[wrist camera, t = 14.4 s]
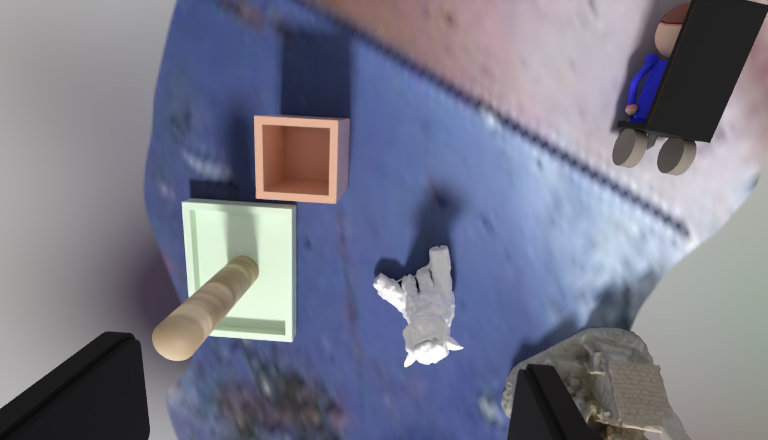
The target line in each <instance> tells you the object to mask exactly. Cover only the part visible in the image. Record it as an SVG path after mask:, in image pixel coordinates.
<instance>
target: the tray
mask: <svg viewBox="0 0 768 440" xmlns="http://www.w3.org/2000/svg"><path fill="white" fill-rule="evenodd" d="M182 212H183V226H184V239H185V253H186V267H187V280H188V294H189V297H190V296H192V295H193V294H194V293H195V292H196V291H197V290H198V289H199V288H201V287H202V286H203V285H204V284H205V283H206V282H207V281H208V280H210V279H211V278H212V277H213V276H214V275H215V274H216V273H217V272H218V271H220V270H221V269H222V268H223V267H224V266H225V265H226V264H227V263H229V262H230V261H231V260H232V259H233V258H235V257H237V256H246V257H249V258H251V259H252V260H254V261H255V263H256V264H257V266H258V269H259V275H258V278H257V279H256V281H255V282H254V283H253V284H252V285H251V287H250V288H249V289H248V290H247V291H246V292H245V294H244V295H243V296H242V297H241V298H240V299H239V301H238V302H237V303H236V304H235V305H234V307H233V308H232V309H231V310H230V311H229V312H228V314H227V315H226V316H225V317H224V318H223V319H222V321H221V322H220V323H219V324H218V325H217V326H216V328H215V329H214V330H213V331H212V332H211V334H210V335H209V336H219V337H232V338H245V339H258V340H272V341H285V342H292V341H293V339H294V337H295V335H296V333H297V255H296V205H290V204H274V203H259V202H243V201H228V200H212V199H197V198H190V199H188V200H185V201H183V202H182Z"/></svg>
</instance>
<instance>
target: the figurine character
mask: <svg viewBox="0 0 768 440" xmlns="http://www.w3.org/2000/svg"><path fill="white" fill-rule="evenodd" d="M767 12H768V5H765V4H761V3H756V2H752V1H747V0H692V1H691V2H690V3H686V4H682V5H680V6H678V7H676V8H674V9H672V10H671V11H670V12H668V13H667V14H666V15H665V16H664V17H663V18H662V20H661V21H660V22H659V24H658V26H657V29H656V32H655V44H656V47H657V49H658V51H659V52H660V53H661V54H662V55H663V56H664V57H666V58H668V59H669V60H668V61H661V60H660V58H659V57H658V56H657V55H656V54H648V55H647V56H646V57H645V63H646V64H645V65H644V66H643V67H642V68H641V69H640V71H639V72H638V73H637V74H636V75H635V76H634V78H633V79H632V80H631V82H630V89H629V96H628V102H627V107H626V109H625V111H626V113H627V114H630V115H629V116H628V117H627V120H626V121H619V123H618V126H617V127H619V128H623V130H622V133H621V134H620V135H619V137H618V138H617V140H616V142H615V145H614V148H613V155H612V157H613V162H614V163H615V164H616V165H619V166H623V167H628V168H631V167H634V166H635V165H637V164H638V163H639V162H640V160H641V159H642V157H643V155H644V153H645V151H646V148H647V150H648V149H649V148H651V147H652V146H654V144H655V142H656V139H657V137H658V136H662V137H667V138H669V139H668V140H667V141H666V142H665V143H664V144H663V146H662V148H661V150H660V152H659V155H658V160H657V165H658V169H659V170H660V171H661V172H662V173H666V174H671V175H680V174H682V173H684V172H685V171H686V170H687V169H688V168H689V167H690V166H691V164H692V162H693V160H694V158H695V155H696V143H695V141H702V142H708V143H710V141H711V139H712V137H713V135H714V132H715V130H716V128H717V126H718V123H719V121H720V119H721V117H722V114H723V112H724V110H725V107H726V105H727V103H728V101H729V98H730V96H731V94H732V92H733V89H734V87H735V85H736V83H737V80H738V78H739V76H740V73H741V71H742V69H743V67H744V64H745V62H746V60H747V58H748V55H749V53H750V51H751V49H752V46H753V44H754V42H755V39H756V37H757V35H758V33H759V30H760V28H761V26H762V24H763V21H764V19H765V17H766V14H767ZM649 70H650V72H649V75H648V77H647V80H646V82H645V85H644V87H643V90H642V93H641V95H640V98H639V100H638V103H637V105H636V104H635V102H636V96H637V90H638V83H639V82H640V81H641V79H642V78H643V77H644V76H645V75H646V74H647V73H648V71H649ZM634 117H635V118H634ZM646 133H648V134H649V136H648V138H647V134H646Z"/></svg>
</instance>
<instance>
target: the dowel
mask: <svg viewBox="0 0 768 440" xmlns="http://www.w3.org/2000/svg"><path fill="white" fill-rule="evenodd" d="M258 275H259V269H258V266H257V264H256V263H255V261H254V260H252V259H251V258H249V257H246V256H237V257H235V258H233V259H232V260H231V261H230V262H229V263H227V264H226V265H225V266H224V267H223V268H222V269H221V270H220V271H218V272H217V273H216V274H215V275H214V276H213V277H212V278H211V279H210V280H208V281H207V282H206V283H205V284H204V285H203V286H202V287H201V288H199V289H198V290H197V291H196V292H195V293H194V294H193V295H192V296H190V297H189V298H188V299H187V300H186V301H185V302H184V303H183V304H181V305H180V306H179V307H178V308H177V309H176V310H175V311H174V312H172V314H170V315H169V316H168V317H167V318H166V319H165V320H163V321H162V322H161V323H160V324H159V325H158V326H157V327H156V328H155V330H154V332H153V335H152V341H153V345H154V347H155V348H156V350H157V351H158V352H159V353H160V354H161V355H162V356H164V357H165V358H167V359H170V360H174V361H182V360H185V359H188V358H189V357H191V356H192V355H193V353H194V352H195V351H196V350H197V349H198V348H199V346H200V345H201V344H202V343H203V342H204V341H205V339H206V338H207V337H208V336H209V335H210V334H211V332H212V331H213V330H214V329H215V328H216V326H217V325H218V324H219V323H220V322H221V321H222V319H223V318H224V317H225V316H226V315H227V314H228V312H229V311H230V310H231V309H232V308H233V307H234V305H235V304H236V303H237V302H238V301H239V299H240V298H241V297H242V296H243V295H244V294H245V292H246V291H247V290H248V289H249V288H250V287H251V285H252V284H253V283H254V282H255V281H256V279H257V278H258Z"/></svg>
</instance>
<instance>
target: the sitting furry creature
mask: <svg viewBox="0 0 768 440" xmlns="http://www.w3.org/2000/svg"><path fill="white" fill-rule="evenodd" d="M429 257H430V262H429V264H428V265H426V266H425V267H422V268H421V269H418V270H417V272H416V275H415V276H412V275H411V274H408V276H406V275H405V276H404V277H403V278H401V279H399V280H397V281H395V280H394V279H390V278H388V277H387V276H386V275H384V274H382V273H379V275H378V276H377V277H376V279H375V280H374V282H373V286H374V287H375V288H376V289H377V290H378V294H379V295H380V296H382V298H383V299H386V300H387V301H388V302H389V303H392V305H394V306H395V307H396V308H397V309H398V310H399V311H400V312H402V313H403V317H404V318H405V319H406V320H407V322H408V324H409V325H408V326H407V327H406V328H405V329H404V331H403V336H404V339H405V341H406V351H407V352H408V353H409V354H408V356H407V358H406V360H405V363H404V367H407V366H410V365H411V364H412V363H413V362H414V361H415V360H416V359H417V360H418V362H419V363H423V364H426V365H429V364H430V363H437V362H438V361H439V360H441V359H443V358H445V357H447V355H448V354H449V350H460V349H463V347H462V346H460V345H459V344H458V343H457V342H456V341H455V340H454V339H453V338H452V337H450V328H449V327H450V325H451V324H452V322H451V321H452V319H453V318H454V316H455V314H454V312H455V311H454V310H455V308H454V307H455V304H454V302H455V298H454V292H453V291H452V278H451V276H450V271H451V268H452V267H451V265H450V264H451V261H450V255H449V250H448V247H447V246H445V245H441V246H440V247H438V246H435V247H432V248H430V250H429ZM430 271H431V272H432V277H431V273H430ZM415 277H416V278H417V281H418V284H419V289H420V290H418V289H417V287H416V279H415ZM401 280H402V283H401V286H402V287H400V285H399V283H397V282H399V281H401Z"/></svg>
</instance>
